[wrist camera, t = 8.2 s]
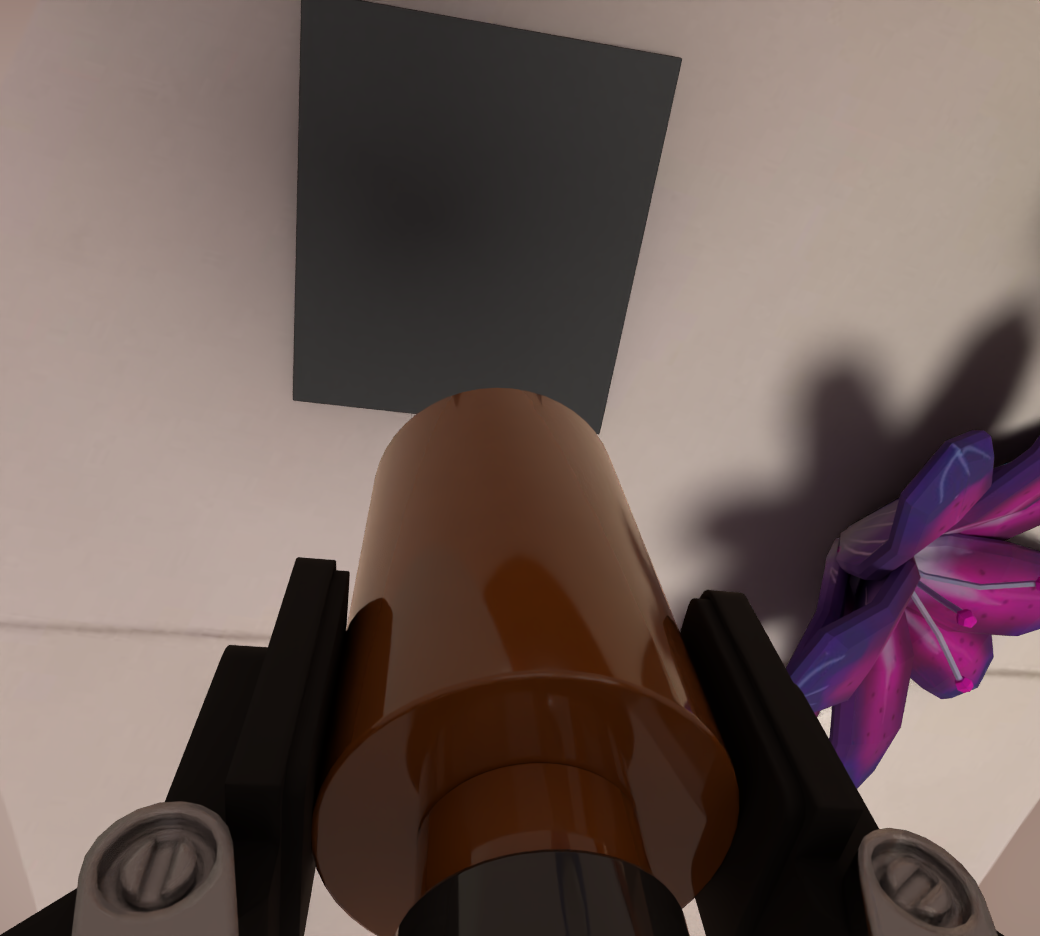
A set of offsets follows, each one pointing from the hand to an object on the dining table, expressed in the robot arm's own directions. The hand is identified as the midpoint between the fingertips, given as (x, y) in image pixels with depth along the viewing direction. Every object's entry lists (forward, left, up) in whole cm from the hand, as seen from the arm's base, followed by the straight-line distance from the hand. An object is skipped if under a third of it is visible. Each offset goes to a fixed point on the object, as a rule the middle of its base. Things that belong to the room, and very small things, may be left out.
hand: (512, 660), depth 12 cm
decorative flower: (+14, +28, -29) cm, 43 cm away
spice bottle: (0, 0, -5) cm, 5 cm away
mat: (0, 0, -29) cm, 29 cm away
